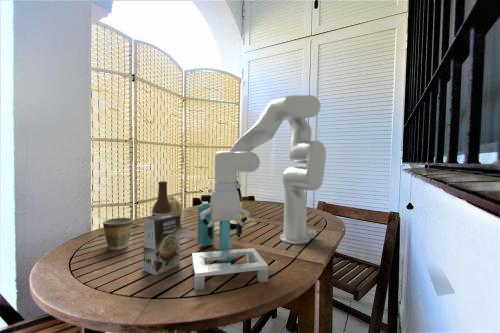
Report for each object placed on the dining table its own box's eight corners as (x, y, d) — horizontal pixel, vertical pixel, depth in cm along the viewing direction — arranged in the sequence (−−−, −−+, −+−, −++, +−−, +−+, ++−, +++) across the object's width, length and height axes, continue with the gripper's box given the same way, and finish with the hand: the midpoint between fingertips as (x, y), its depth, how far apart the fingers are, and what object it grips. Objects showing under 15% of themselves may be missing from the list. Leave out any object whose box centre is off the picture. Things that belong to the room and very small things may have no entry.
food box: (156, 276, 70) (156, 220, 70) (142, 270, 74) (143, 217, 73) (180, 265, 78) (181, 214, 78) (167, 260, 82) (167, 212, 81)
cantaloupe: (153, 222, 129) (153, 194, 129) (182, 221, 133) (182, 193, 132) (148, 230, 115) (149, 198, 114) (181, 229, 118) (181, 198, 118)
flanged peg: (231, 253, 89) (232, 209, 88) (236, 261, 82) (237, 213, 82) (213, 255, 87) (213, 210, 86) (215, 263, 80) (216, 214, 80)
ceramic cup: (137, 246, 93) (137, 220, 93) (108, 253, 86) (108, 225, 86) (124, 239, 102) (124, 215, 102) (96, 244, 95) (96, 219, 95)
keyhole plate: (253, 261, 82) (253, 248, 82) (267, 281, 69) (268, 265, 69) (192, 267, 77) (192, 253, 76) (194, 290, 63) (195, 273, 63)
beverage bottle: (210, 250, 92) (211, 196, 91) (194, 248, 93) (195, 195, 93) (216, 244, 98) (217, 194, 98) (201, 242, 99) (201, 193, 99)
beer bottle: (148, 238, 103) (148, 181, 102) (161, 233, 110) (162, 180, 110) (162, 241, 100) (163, 182, 100) (175, 236, 107) (176, 181, 107)
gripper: (247, 185, 90) (246, 232, 90) (198, 186, 85) (198, 235, 85) (252, 188, 83) (251, 238, 83) (200, 188, 78) (199, 242, 78)
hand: (224, 236), depth 84 cm, fingers open, 9 cm apart
